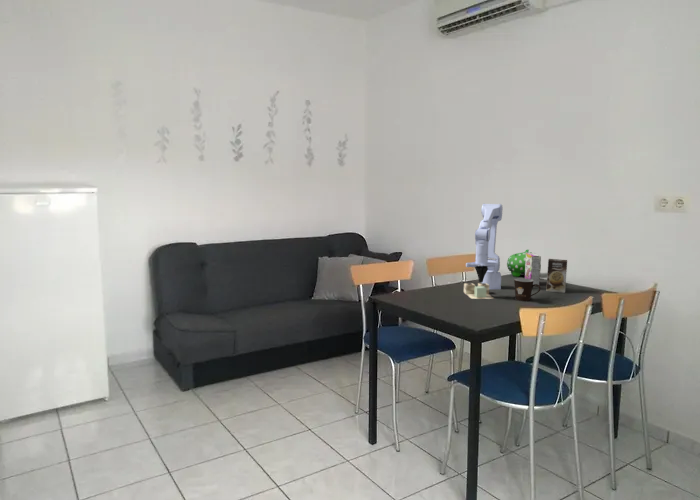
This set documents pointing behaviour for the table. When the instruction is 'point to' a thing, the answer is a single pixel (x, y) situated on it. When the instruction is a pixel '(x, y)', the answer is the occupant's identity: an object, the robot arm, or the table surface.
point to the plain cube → (480, 291)
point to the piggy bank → (517, 263)
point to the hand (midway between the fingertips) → (480, 281)
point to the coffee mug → (524, 289)
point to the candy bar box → (533, 267)
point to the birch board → (480, 297)
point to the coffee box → (556, 275)
